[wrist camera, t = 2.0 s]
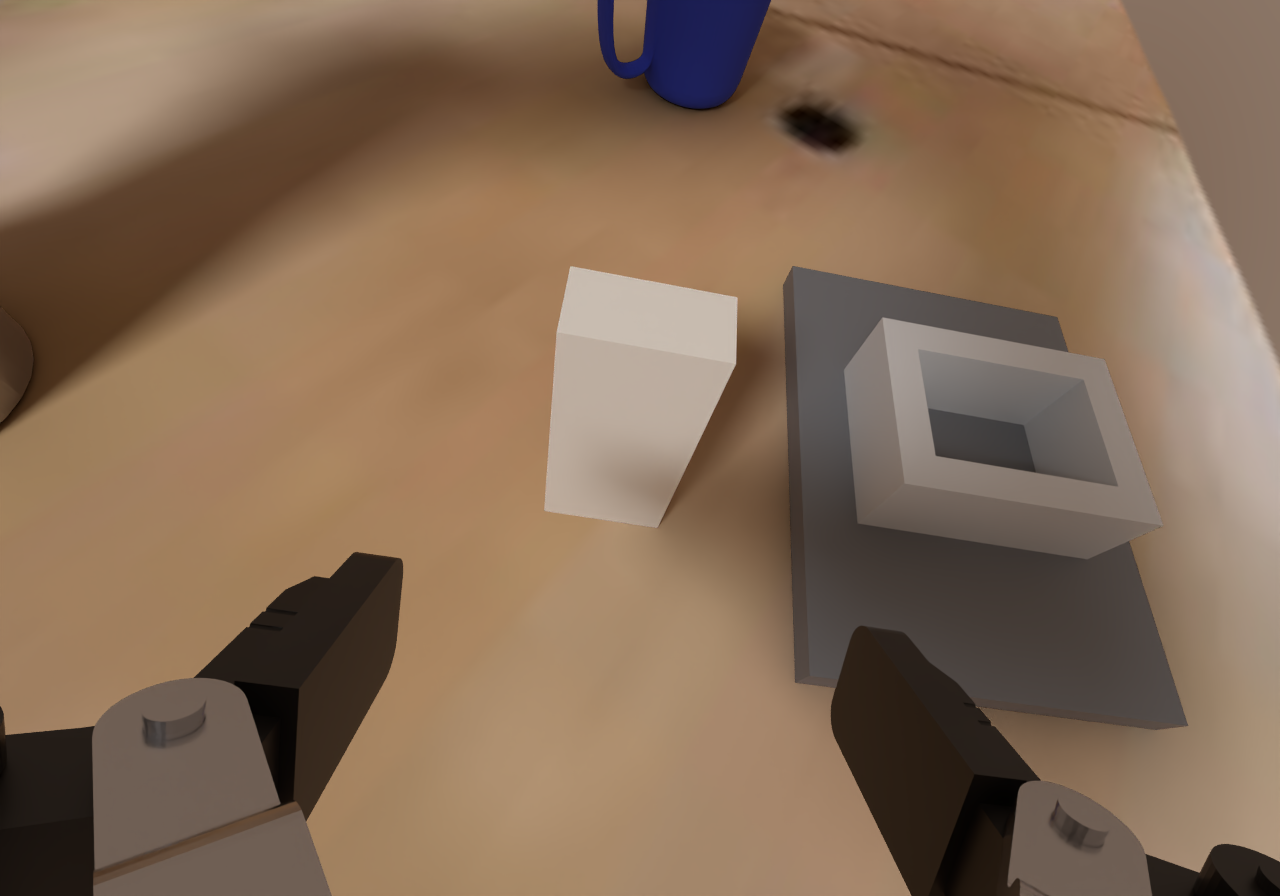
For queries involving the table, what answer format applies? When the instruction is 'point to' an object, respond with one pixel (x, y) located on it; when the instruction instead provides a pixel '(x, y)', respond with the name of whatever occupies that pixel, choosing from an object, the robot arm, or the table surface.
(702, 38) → the mug
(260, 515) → the table surface
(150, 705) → the robot arm
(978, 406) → the block insertion holder
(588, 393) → the rectangular block
